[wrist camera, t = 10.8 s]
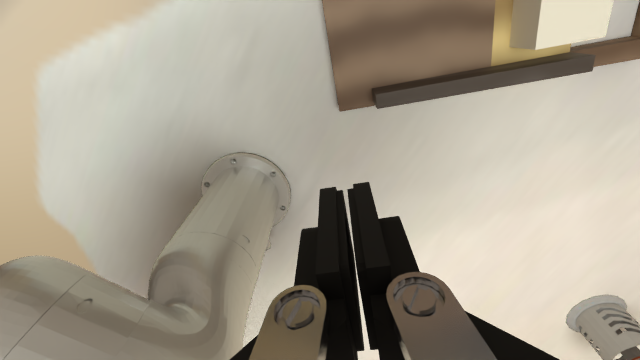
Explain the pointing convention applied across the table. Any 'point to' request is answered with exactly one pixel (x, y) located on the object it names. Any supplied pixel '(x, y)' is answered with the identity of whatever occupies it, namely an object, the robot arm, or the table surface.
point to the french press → (607, 326)
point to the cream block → (557, 22)
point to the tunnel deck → (444, 50)
